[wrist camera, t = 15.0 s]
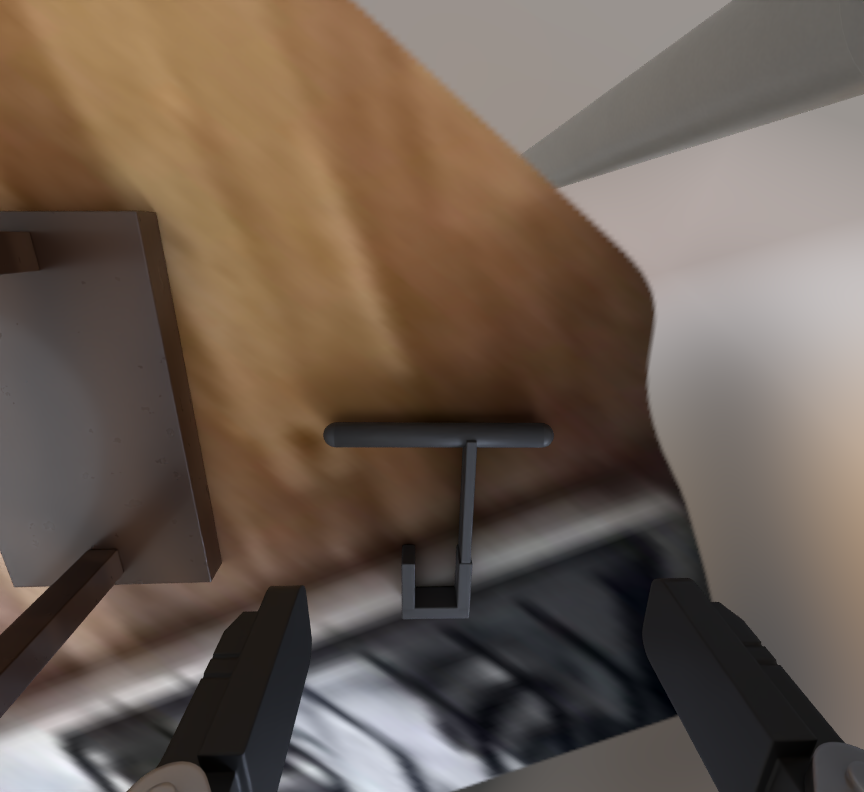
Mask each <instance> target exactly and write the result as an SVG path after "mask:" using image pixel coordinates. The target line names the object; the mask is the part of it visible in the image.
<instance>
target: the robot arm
mask: <svg viewBox="0 0 864 792" xmlns="http://www.w3.org/2000/svg"><path fill="white" fill-rule="evenodd" d="M642 634H643V643H644V648H645V651H646V654H647V657H648V659H649V661H650V663H651V665H652V667H653V669H654V670H655V672H656V674H657V676H658V678H659V680H660V682H661V684H662V685H663V687H664V689H665V691H666V693H667V695H668V697H669V699H670V701H671V702H672V704H673V706H674V708H675V710H676V712H677V714H678V716H679V717H680V719H681V721H682V723H683V725H684V727H685V728H686V731H687V732H688V734H689V736H690V738H691V740H692V742H693V744H694V745H695V748H696V750H697V751H698V753H699V755H700V757H701V759H702V761H703V763H704V765H705V766H706V768H707V770H708V772H709V774H710V776H711V778H712V780H713V782H714V783H715V785H716V787H717V789H718V791H719V792H864V750H863V749H860V748H858V747H855V746H852V745H849V744H846V743H845V742H844V741H843V740H842V739H841V738H840V737H839V736H838V735H837V733H836V732H835V731H834V730H833V728H832V727H831V726H830V725H829V724H828V723H827V721H826V720H825V719H824V718H823V716H822V715H821V714H820V713H819V712H818V710H817V709H816V708H815V707H814V706H813V704H812V703H811V702H810V701H809V700H808V698H807V697H806V696H805V695H804V693H803V692H802V691H801V690H800V688H799V687H798V686H797V685H796V684H795V682H794V681H793V680H792V679H791V678H790V676H789V675H788V674H787V673H786V672H785V670H784V669H783V668H782V667H781V666H780V665H777V663H776V659H775V658H774V657H773V656H772V655H771V653H770V652H769V651H768V650H767V649H766V647H765V646H764V647H763V646H762V645H761V641H760V640H759V639H758V638H757V636H756V635H755V634H754V633H753V632H752V630H751V629H750V628H749V627H748V626H747V625H746V623H745V622H744V621H743V620H742V619H741V618H739V617H738V616H737V615H735V614H734V613H733V612H731V611H730V610H729V609H727V608H726V607H725V606H723V605H722V604H721V603H719V602H710V601H709V599H708V598H707V597H706V595H705V594H704V593H703V592H702V590H701V589H700V588H699V587H698V585H697V584H696V583H695V582H694V581H693V580H692V579H690V578H668V579H655V580H654V581H653V582H652V584H651V589H650V594H649V599H648V604H647V609H646V614H645V619H644V624H643V633H642ZM311 647H312V637H311V628H310V620H309V612H308V604H307V596H306V590H305V587H304V586H303V585H300V586H271V587H269V588H268V590H267V592H266V594H265V596H264V599H263V601H262V603H261V606H260V608H259V610H258V611H256V612H243V613H242V614H241V615H240V616H239V617H238V618H237V619H236V620H235V621H234V622H233V623H232V624H231V625H230V626H229V627H228V628H227V629H226V630H225V631H224V633H223V635H222V637H221V639H220V641H219V643H218V645H217V647H216V649H215V651H214V654H213V658H212V659H211V660H210V662H209V664H208V666H207V668H206V670H205V672H204V677H203V679H201V680H200V682H199V684H198V686H197V688H196V690H195V693H194V695H193V697H192V699H191V701H190V703H189V705H188V707H187V709H186V711H185V713H184V715H183V717H182V719H181V721H180V723H179V725H178V727H177V729H176V731H175V734H174V736H173V738H172V740H171V742H170V744H169V746H168V748H167V750H166V752H165V754H164V756H163V758H162V759H161V761H160V763H159V765H158V766H157V767H156V769H154V770H152V771H151V772H149V773H148V774H146V775H145V776H143V777H142V778H141V779H139V780H138V781H137V782H136V783H135V784H134V785H133V786H132V787H131V788H130V789H129V790H128V791H127V792H277V790H278V786H279V782H280V778H281V775H282V771H283V767H284V763H285V759H286V755H287V751H288V747H289V743H290V739H291V735H292V731H293V727H294V724H295V720H296V716H297V712H298V708H299V704H300V700H301V696H302V692H303V688H304V684H305V680H306V676H307V672H308V668H309V664H310V658H311Z"/></svg>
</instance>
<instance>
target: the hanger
mask: <svg viewBox="0 0 864 792" xmlns="http://www.w3.org/2000/svg"><path fill="white" fill-rule="evenodd" d="M323 437H324V440H325V442H326V443H327V444H328V445H330V446H332V447H463V453H462V475H461V497H460V520H459V542H458V545H457V547H456V570H455V587H415V545H403V546H402V619H443V618H469V610H470V593H471V576H472V560H471V543H472V525H473V508H474V490H475V472H476V454H477V447H546V446H548V445H549V444H551V442H552V441H553V438H554V433H553V430H552V429H551V427H550V426H549V425H547V424H544V423H393V422H334V423H331V424H329V425H328V426H327V427H326V428H325V430H324V433H323Z"/></svg>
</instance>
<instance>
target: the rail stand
mask: <svg viewBox="0 0 864 792" xmlns="http://www.w3.org/2000/svg"><path fill="white" fill-rule="evenodd" d="M0 551H1V554H2V557H3V559H4V562H5V564H6V567H7V570H8V572H9V575H10V578H11V580H12V583H13V585H14V587H45V586H50V587H49V588H48V589H47V590H46V591H45V592H44V593H43V594H42V595H41V596H40V597H39V598H38V599H37V600H36V601H35V602H34V603H33V604H32V605H31V606H30V607H29V608H27V609H26V610H25V611H24V612H23V613H22V614H21V615H20V616H19V617H18V618H17V619H16V620H15V621H14V622H13V623H12V624H11V625H10V626H9V627H8V628H7V629H6V630H5V631H4V632H3V633H2V634H1V635H0V718H1V717H2V715H3V714H4V713H5V712H6V711H7V710H8V708H9V707H10V706H11V705H12V704H13V703H14V701H15V700H16V699H17V698H18V697H19V695H20V694H21V693H22V692H23V691H24V690H25V688H26V687H27V686H28V685H29V684H30V683H31V681H32V680H33V679H34V678H35V677H36V676H37V674H38V673H39V672H40V671H41V670H42V669H43V667H44V666H45V665H46V664H47V663H48V661H49V660H50V659H51V658H52V657H53V656H54V654H55V653H56V652H57V651H58V650H59V649H60V647H61V646H62V645H63V644H64V643H65V642H66V640H67V639H68V638H69V637H70V636H71V634H72V633H73V632H74V631H75V630H76V629H77V627H78V626H79V625H80V624H81V623H82V622H83V620H84V619H85V618H86V617H87V616H88V615H89V613H90V612H91V611H92V610H93V609H94V608H95V606H96V605H97V604H98V603H99V602H100V600H101V599H102V598H103V597H104V596H105V595H106V593H107V592H108V591H109V590H110V589H111V588H112V586H113V585H119V584H156V583H194V582H211V581H212V579H213V578H214V576H215V574H216V572H217V571H218V569H219V567H220V566H221V564H222V561H221V556H220V550H219V545H218V540H217V534H216V529H215V524H214V518H213V513H212V508H211V502H210V497H209V492H208V487H207V481H206V476H205V471H204V465H203V460H202V455H201V449H200V444H199V439H198V433H197V428H196V423H195V417H194V412H193V407H192V402H191V396H190V391H189V386H188V380H187V375H186V370H185V364H184V359H183V354H182V348H181V343H180V338H179V333H178V327H177V322H176V317H175V311H174V306H173V301H172V295H171V290H170V285H169V279H168V274H167V269H166V264H165V258H164V253H163V248H162V242H161V237H160V232H159V226H158V221H157V216H156V213H155V212H144V211H0Z"/></svg>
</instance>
